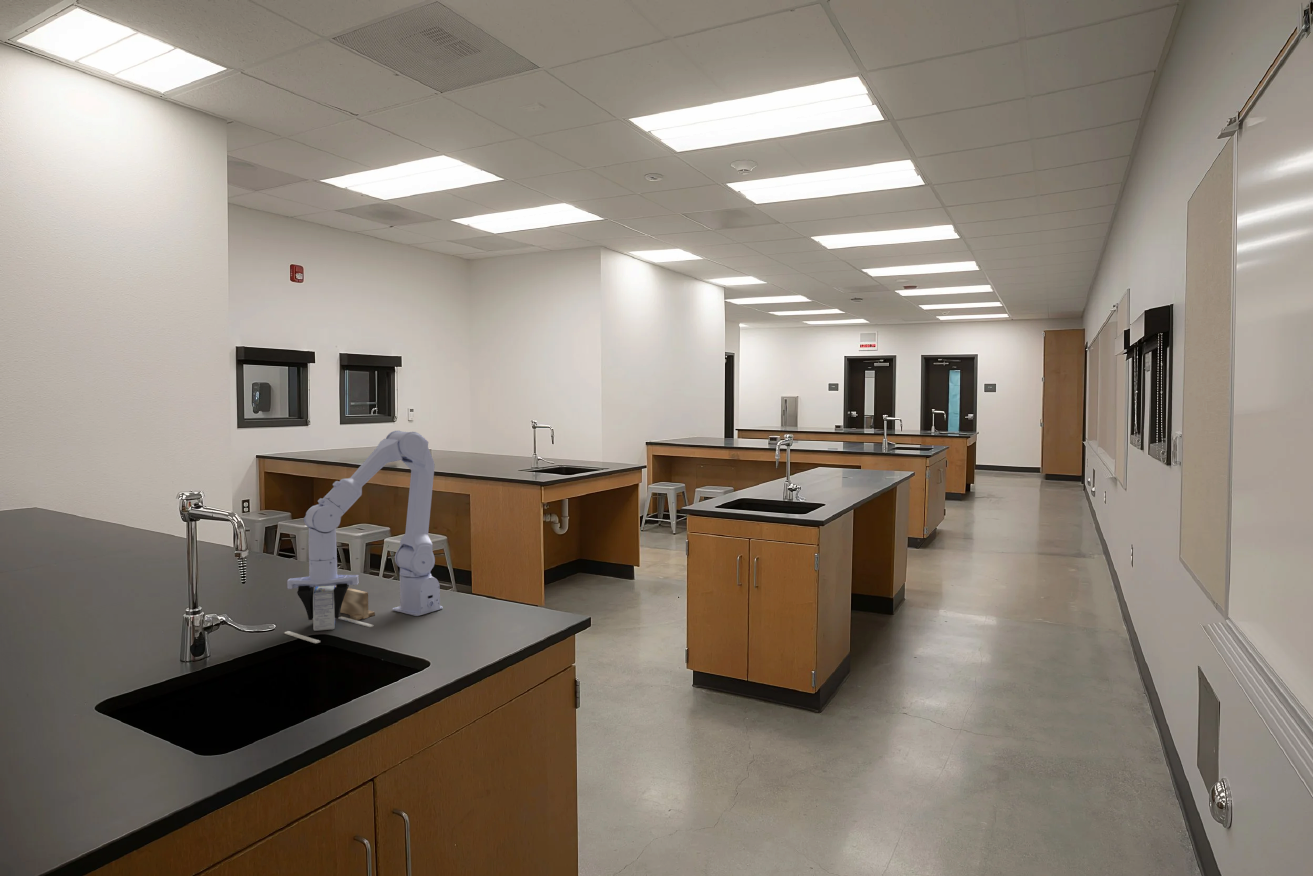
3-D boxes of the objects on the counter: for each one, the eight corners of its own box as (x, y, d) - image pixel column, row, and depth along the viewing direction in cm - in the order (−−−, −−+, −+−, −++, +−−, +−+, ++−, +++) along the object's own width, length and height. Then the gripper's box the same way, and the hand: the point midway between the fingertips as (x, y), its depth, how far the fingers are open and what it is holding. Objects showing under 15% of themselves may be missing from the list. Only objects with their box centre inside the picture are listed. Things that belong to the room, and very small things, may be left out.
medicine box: (334, 629, 162) (335, 591, 162) (312, 631, 160) (313, 593, 160) (335, 620, 169) (335, 583, 169) (314, 621, 168) (314, 584, 167)
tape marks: (373, 626, 165) (373, 625, 165) (315, 643, 153) (315, 642, 153) (342, 617, 171) (342, 616, 171) (284, 633, 160) (284, 632, 160)
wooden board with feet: (375, 615, 173) (375, 590, 173) (356, 620, 169) (356, 595, 169) (340, 606, 181) (340, 582, 181) (322, 611, 177) (321, 587, 176)
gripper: (360, 553, 168) (361, 610, 169) (292, 556, 165) (294, 615, 165) (355, 559, 161) (356, 619, 162) (284, 563, 158) (285, 624, 158)
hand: (324, 618), depth 163 cm, fingers closed on medicine box, 5 cm apart
